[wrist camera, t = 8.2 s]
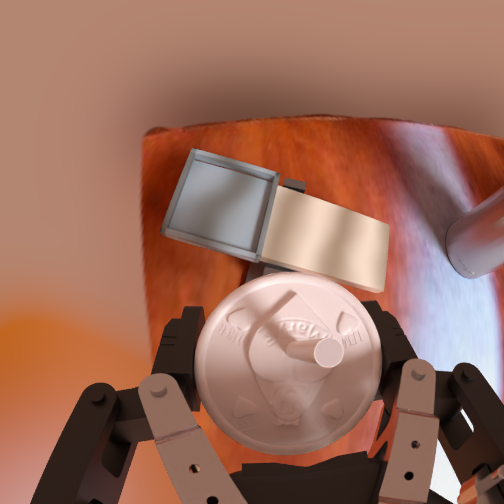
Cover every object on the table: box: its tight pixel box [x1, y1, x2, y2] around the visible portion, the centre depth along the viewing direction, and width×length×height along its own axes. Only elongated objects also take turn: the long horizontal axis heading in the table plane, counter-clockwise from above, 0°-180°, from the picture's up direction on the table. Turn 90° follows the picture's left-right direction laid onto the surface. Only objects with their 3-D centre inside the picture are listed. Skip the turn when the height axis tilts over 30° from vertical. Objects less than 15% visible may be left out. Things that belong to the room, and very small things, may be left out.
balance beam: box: [160, 148, 390, 293], centre depth 30 cm, size 24×10×3 cm, turn 77°
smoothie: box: [194, 272, 382, 455], centre depth 12 cm, size 6×6×14 cm
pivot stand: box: [245, 178, 306, 283], centre depth 34 cm, size 6×14×6 cm, turn 167°
